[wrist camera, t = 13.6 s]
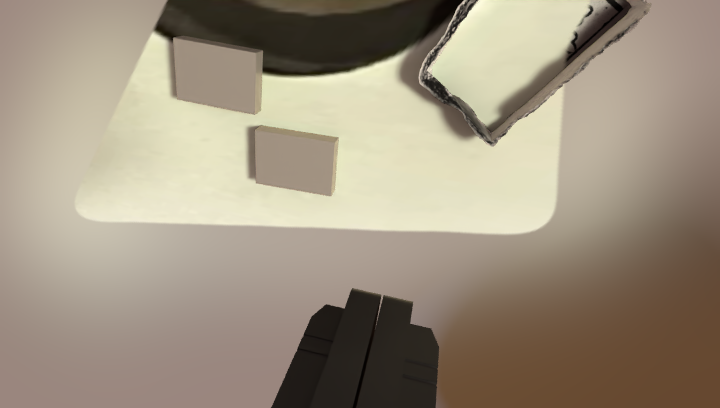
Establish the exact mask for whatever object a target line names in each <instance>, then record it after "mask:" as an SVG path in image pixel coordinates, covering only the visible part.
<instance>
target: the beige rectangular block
mask: <svg viewBox="0 0 720 408" xmlns="http://www.w3.org/2000/svg"><path fill="white" fill-rule="evenodd" d="M338 140H339V138H338V137H332V136H325V135H319V134H313V133H306V132H300V131H293V130H287V129H281V128H274V127H268V126H262V125H261V126H260V127H258V128H257V129H256V130H255V165H256V183H257V184H263V185H269V186H274V187H280V188H286V189H292V190H297V191H303V192H309V193H315V194H320V195H326V196H332V194H333V192H334V190H335V181H336V167H337V153H338Z"/></svg>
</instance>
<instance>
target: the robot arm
mask: <svg viewBox="0 0 720 408" xmlns="http://www.w3.org/2000/svg"><path fill="white" fill-rule="evenodd" d="M380 300H381V295H380V294H376V293H371V292H366V291H363V290H358V289H354V288H352V290H351V292H350V295H349V298H348V301H347V303H346V307H345V309H343V308H340V307H335V306H331V305H325V306H324V307H323V308H321V309H320V310H319V311H318V312H317V313H315V314H314V315H313V316H312V317H311V319H310V321H309V324H308V326H307V328H306V330H305V333H304V336H303V338H302V339H301V342H300V344H299V346H298V349H297V352H296V353H295V355H294V358H293V360H292V362H291V364H290V367H289V369H288V371H287V373H286V376H285V378H284V381H283V383H282V385H281V387H280V389H279V392H278V394H277V396H276V398H275V401H274V403H273V405H272V407H271V408H435V406H436V389H437V386H436V384H437V373H438V370H437V368H438V356H439V346H438V344H437V341H436V339H435V337H434V334H433V332H432V330H431V329H430V328H426V327H422V326H417V325H413V324H410V320H411V313H412V306H413V302H411V301H406V300H403V299H398V298H393V297H390V296H385V295H384V296H383V300H382V304H381V308H380V313H379V316H378V311H379V305H380ZM377 317H378V321H377ZM376 322H377V325H376ZM375 328H376V329H375Z"/></svg>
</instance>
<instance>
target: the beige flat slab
mask: <svg viewBox="0 0 720 408" xmlns="http://www.w3.org/2000/svg"><path fill="white" fill-rule="evenodd" d="M173 45H174V60H175V76H176V92H177V99H178V100H183V101H188V102H193V103H198V104H203V105H208V106H213V107H218V108H223V109H228V110H234V111H239V112H244V113H249V114H254V115H255V114H257V113H258V112H260V111H261V95H262V64H263V50H258V49H252V48H247V47H241V46H236V45H231V44H225V43H220V42H214V41H209V40H203V39H198V38H193V37H187V36H179V37H174V38H173Z"/></svg>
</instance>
